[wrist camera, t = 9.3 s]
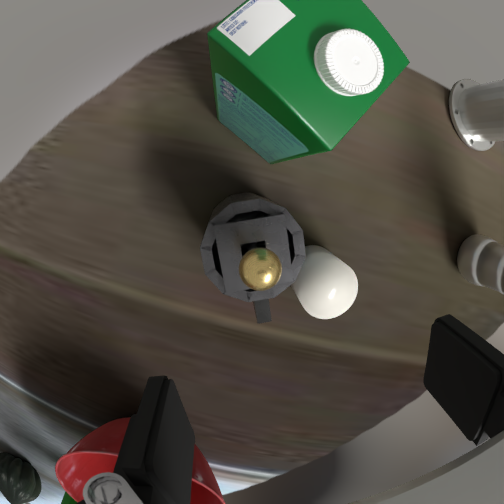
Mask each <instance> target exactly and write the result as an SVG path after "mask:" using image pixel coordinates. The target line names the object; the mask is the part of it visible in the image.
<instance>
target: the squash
mask: <svg viewBox="0 0 504 504" xmlns="http://www.w3.org/2000/svg"><path fill="white" fill-rule="evenodd" d="M0 491H1V492H2V494H3V495H4V496H5V498H6V499H7V500H8V501H9V502H10V503H11V504H24V503H27V502H30V501H33V500H35V499H36V498H37V497H38V496H39V494H40V492H41V480H40V477H39V474H38V473H37V472H36V471H35V470H34V469H33V467H32V466H31V465H30V464H29V463H27V462H22V460H21V459H19V458H14V457H13V456H12V455H11V454H8V453H0Z"/></svg>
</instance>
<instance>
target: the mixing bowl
mask: <svg viewBox="0 0 504 504" xmlns="http://www.w3.org/2000/svg"><path fill="white" fill-rule="evenodd" d="M130 418H131V417H129V418H121V419H117V420H113V421H110V422H108V423H106V424H104V425H102V426H101V427H99V428H97V429H95V430H94V431H92V432H91V433H89V434H88V435H86V436H85V437H84V438H83V439H81V440H80V441H79V442H78V443H77V444H75V445H74V446H73V447H72V448H71V449H70V450H69V451H68V452H67V454H65V455H63V456H62V457H60V458H59V460H58V461H57V463H56V466H55V472H56V476H57V478H58V481H59V482H60V484H61V485H62V487H63V488H64V490H65V491H66V492H67V493H68V494H69V495H70V496H71V497H72V498H73V499H74V500H75V501H77V502H80V501H82V500H83V499H84V497H83V488H84V486H85V484H86V483H87V481H88V480H89V479H90V478H92V477H93V476H95V475H97V474H100V473H106V472H110V473H113V471H114V467H115V464H116V461H117V458H118V454H119V451H120V448H121V445H122V442H123V439H124V435H125V432H126V429H127V426H128V423H129V420H130ZM190 504H226V503H225V502H224V500H223V497H222V494H221V491H220V489H219V486H218V483H217V481H216V479H215V476H214V474H213V472H212V470H211V468H210V466H209V464H208V462H207V461H206V459H205V457H204V456H203V454H202V453H201V451H200V450H199V449H198V447H197V446H196V445H194V458H193V471H192V485H191V500H190Z"/></svg>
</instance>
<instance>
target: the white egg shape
mask: <svg viewBox="0 0 504 504" xmlns="http://www.w3.org/2000/svg"><path fill="white" fill-rule="evenodd" d="M305 254H306V258H305V260H304V262H303V265H302V267H301V269H300V272H299V274H298V276H297V278H296V281H295V282H294V283H292V284H291V287H292V289H293V290H294V292H295V294H296V295H297V297H298V299H299V301H300V302H301V304H302V306H303V307H304V309H305V310H306V311H307V312H308V313H309V314H310V315H312V316H314V317H316V318H320V319H330V318H334V317H337V316H339V315H341V314H343V313H344V312H345V311H346V310H348V309H349V307H350V306H351V305H352V304H353V302H354V300H355V298H356V295H357V291H358V281H357V277H356V275H355V273H354V271H353V270H352V269H351V268H350V267H349V266H348V265H346V264H345V263H344V262H342V261H341V260H340V259H339V258H337V257H336V256H335V255H333V254H332V253H331V252H329V251H328V250H327V249H325V248H323V247H321V246H317V245H309V246H305Z"/></svg>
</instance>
